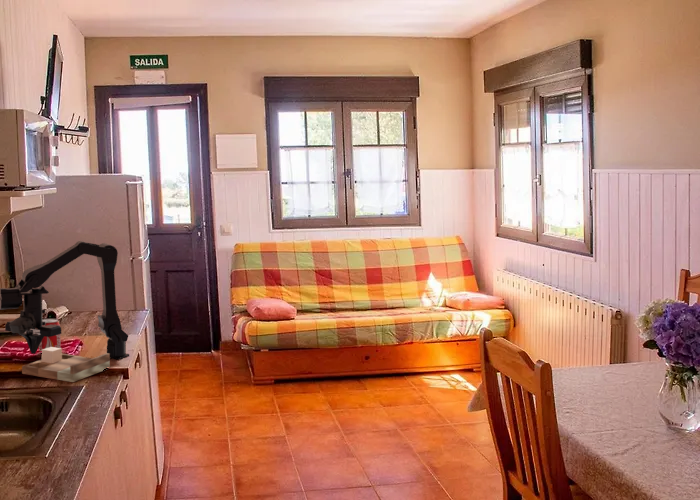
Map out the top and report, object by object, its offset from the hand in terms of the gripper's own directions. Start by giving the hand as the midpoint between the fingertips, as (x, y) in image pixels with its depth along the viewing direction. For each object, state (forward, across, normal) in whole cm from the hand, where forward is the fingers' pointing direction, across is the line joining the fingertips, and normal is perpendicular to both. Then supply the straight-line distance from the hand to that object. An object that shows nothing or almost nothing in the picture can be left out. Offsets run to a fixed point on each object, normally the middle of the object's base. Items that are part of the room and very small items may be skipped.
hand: (33, 353), depth 267 cm
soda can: (+4, -6, +14) cm, 16 cm away
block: (+2, +8, 0) cm, 8 cm away
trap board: (+4, +14, 0) cm, 14 cm away
